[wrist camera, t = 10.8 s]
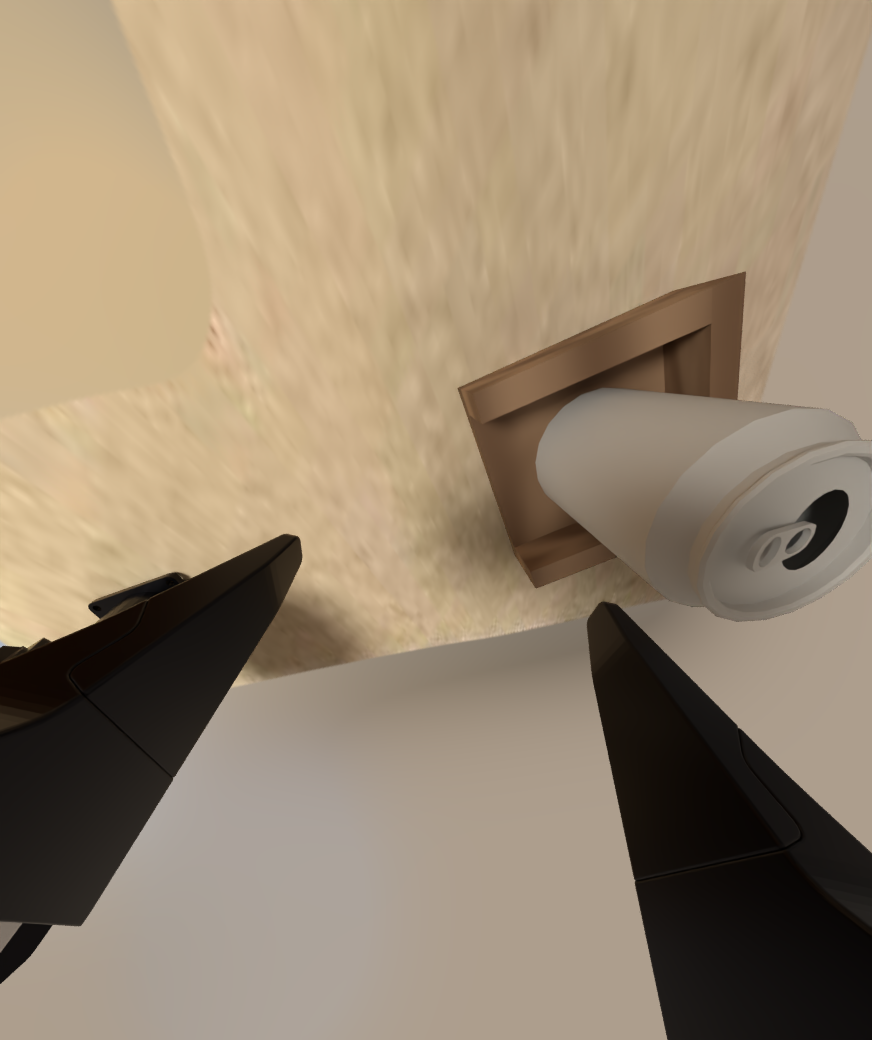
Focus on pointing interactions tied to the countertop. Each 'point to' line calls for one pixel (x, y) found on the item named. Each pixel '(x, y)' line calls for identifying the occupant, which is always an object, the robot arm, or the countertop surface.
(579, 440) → the can
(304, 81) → the countertop surface
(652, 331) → the brown wooden square tray
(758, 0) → the countertop surface
